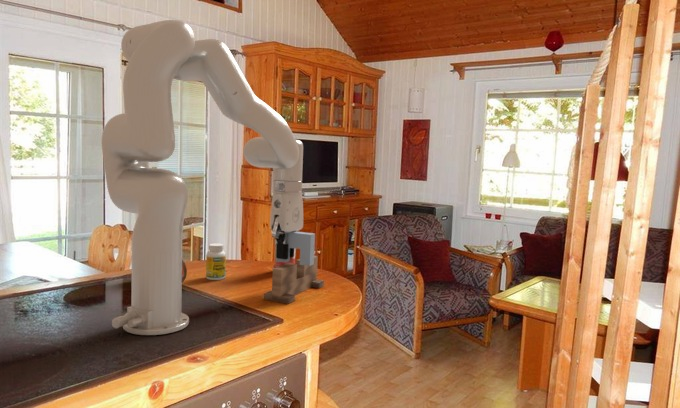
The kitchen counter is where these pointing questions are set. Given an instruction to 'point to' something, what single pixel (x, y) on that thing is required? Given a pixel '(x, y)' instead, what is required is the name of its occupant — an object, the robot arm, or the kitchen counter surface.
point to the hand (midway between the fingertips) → (285, 257)
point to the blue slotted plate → (301, 246)
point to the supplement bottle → (216, 262)
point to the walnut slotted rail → (292, 281)
